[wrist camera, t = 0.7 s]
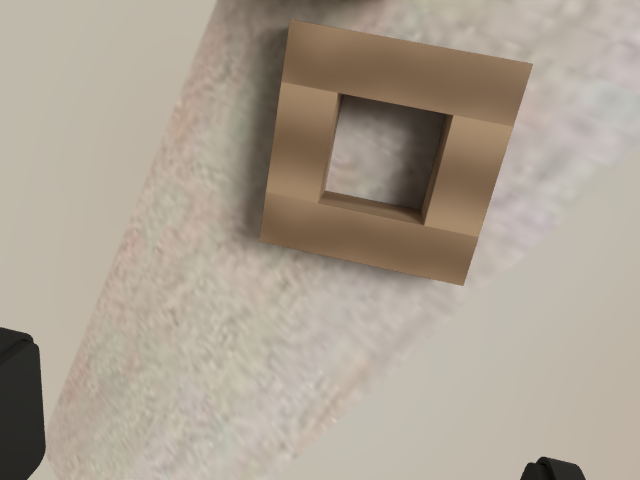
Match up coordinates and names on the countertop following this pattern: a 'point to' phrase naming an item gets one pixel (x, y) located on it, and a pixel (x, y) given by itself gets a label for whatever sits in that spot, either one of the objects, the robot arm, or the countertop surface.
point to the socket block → (403, 89)
